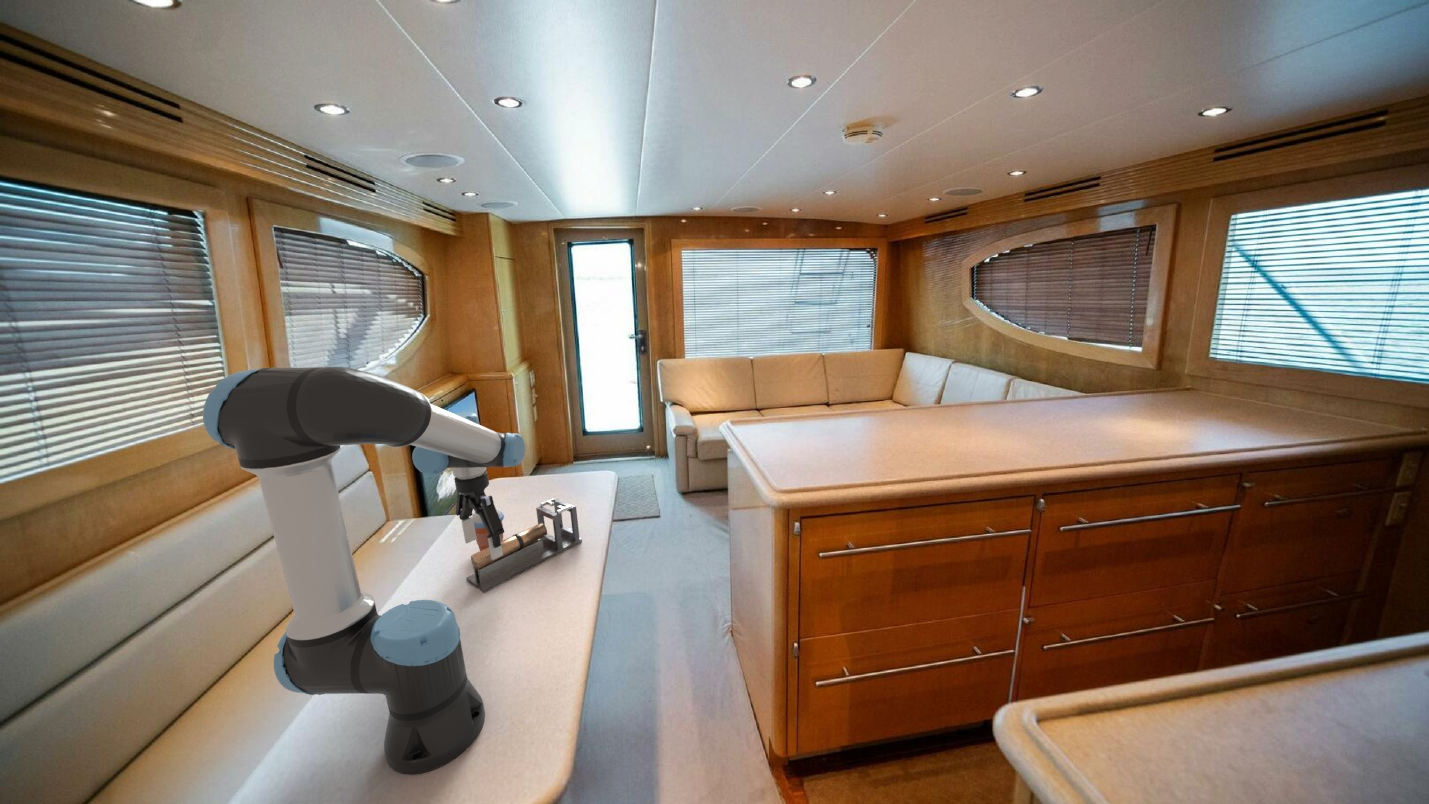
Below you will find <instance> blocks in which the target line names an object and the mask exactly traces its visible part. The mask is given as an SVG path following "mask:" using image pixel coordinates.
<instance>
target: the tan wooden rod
mask: <svg viewBox="0 0 1429 804" xmlns="http://www.w3.org/2000/svg"><path fill="white" fill-rule="evenodd" d="M547 534H548V529H547V527H546V524H545V525H544V524H543V523H539V524H538V523H537V524H535V525H534V526H531V527H529V528H527V529H525V530H522V531H520V532H517V533H515V534H513V535H511V536H510V537H507V538H506V539H504V540H503V541H501V545H502V551H503V556H500V557H498V558H496V559H494V560H492V559H491V553H490V548H489V547H488V548H486V549H484V550H481V551H480V550H479V551H477V552H475V553H473V554H471V556H470V560H471V561H470V562H471V564H472V566H474V567H475V568H476V569H480V568H482V567H484V566H486V565H488V564H490V563H492V562H494V561H496V560H498V559H500V558H502V557H504V556H506V555H508V554H510V553H512V552H514V551H516V550H519V549H521V548H523V547H524V546H526V545H528V544H530V543H532V542H534V541H536V540H540V538H542V537H544V536H546V535H547Z"/></svg>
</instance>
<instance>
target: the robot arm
mask: <svg viewBox="0 0 1429 804" xmlns="http://www.w3.org/2000/svg"><path fill="white" fill-rule="evenodd" d="M214 387H215V388H214V389H213V390H212V391H210V392H209V393H208V395H207V397H206V399H205V402H204V406H203V409H202V410H203V411H202V420H203V426H204V429H205V430H206V433H207V434H208V435H209V437H210V438H211V439H212V440H213V441H214V442H218V443H219V445H221V446H224V447H225V448H229V449H232V450H235V451H236V455H237V459H238V462H239V465H240V469H241V470H243V471H246V472H248V473H251V474H253V475H255V476H256V477H258V481H259V485H260V488H261V492H262V496H263V497H262V498H263V500H264V504H265V508H266V510H267V516H268V518H269V522H270V526H271V530H272V534H273V539H274V543H275V545H276V549H277V552H278V556H279V557H278V558H279V560H280V564H281V568H282V572H283V575H284V578H285V583H286V587H287V591H288V594H289V598H290V601H291V606H292V610H293V613H294V615H293V617H292V618H291V619H290V620H289V621H288V623H287V624H286V626H285V631H284V633H283V634H282V635H281V638H280V639H279V640H278V644H277V645H276V648H278V652H277V653H275V654H274V655H273V671H274V675H275V677H276V679H277V682H278V683H279V684H280V685H281V686H282V687H283V688H284V689H287V691H289V692H293V693H301V694H306V695H309V696H310V695H311V696H315V695H319V696H321V695H333V694H334V695H337V694H338V695H339V694H341V695H342V694H343V695H344V694H348V695H349V694H366V695H367V694H368V695H369V694H370V695H371V694H373V695H375V694H376V695H377V694H379V695H384V696H385V699H386V703H387V708H388V713H389V714H388V720H387V725H386V729H385V730H386V731H385V736H384V741H383V750H384V755H385V758H386V759H385V760H386V762H387V764H388V766H389V767H390V768H391V769H392V770H394V771H395V772H397V773H399V774H405V775H418V774H422V773H423V774H424V773H427V772H431V771H433V770H435V769H438V768H440V767H442V766H444V765H446V764H448V763H449V762H451V761H453V760H454V759H456V758H457V757H458V756H460V755H461V754H462V753H463V752H465V751H466V748H467V749H468V748H469V747H470V746H471V745H472V743H474V741H475V740H476V739H477V737H478V736H479V734H480V732H481V730H482V728H483V727H484V725H485V724H484V723H485V719H486V712H485V705H484V700H483V698H482V696H481V694H480V693H479V692H478V690H477V689H476V688H475V686H474V685H473V683H471V681H470V680H469V678H468V676H467V669H466V664H465V659H464V658H465V657H464V653H463V647H462V641H461V630H460V627H459V624H458V623H457V620H456V616H455V613H454V612H453V610H452V608H450V606H448V605H447V604H446V603H444V602H441V601H437V600H433V599H418V600H413V601H409V603H408V604H404V603H401V604H399V605H396V606H394V607H392V608H390V609H388V610H387V611H385V612H384V613H382V614H381V615H379V613H378V611H377V605H376V603H375V598H374V597H373V595H372V594H371V593H368V592H364V591H361V587H360V583H359V579H358V578H359V577H358V574H357V569H356V565H355V560H354V556H353V551H352V547H351V544H350V543H351V542H350V539H349V535H348V534H349V533H348V531H347V530H348V528H347V525H346V521H345V516H344V512H343V507H342V503H341V499H340V494H339V490H338V485H337V481H336V476H335V472H334V468H333V464H332V461H333V459H334V458H335V456H336V455H337V454H338V453H339V452H340V451H341V449H342V447H341V446H351V445H352V446H353V445H385V446H389V447H393V448H401V447H408V446H413V447H415V448H414V449H413V451H412V454H411V455H412V456H411V457H412V458H411V460H412V461H413V465H414V467H415V468H416V469H417V470H418V471H419V472H421V473H422V474H424V475H429V476H434V475H438V474H440V473H443V472H444V471H446V470H448V469H452V474H453V476H454V478H453V479H454V485H455V490H456V504H455V505H456V506H455V515H456V516H457V517H459V519H460V520H461V526H462V531H463V539H464V542H465V544H469V543H471V542H473V541H476V539H477V538H476V532H475V527H474V521H473V517H472V516H473V514H474V513H476V514H479V516H480V518H481V520H482V522H483V524H484V526H485V528H486V529H487V531H488V533H489V535H488V536H487V538H488V542H489V548H490V553H491V559H492V560H494V559H496V558H498V557H500V556H503V551H502V545H501V539H500V534H502V533H503V534H504V533H505V530H504V525H503V526H502V524H501V521H500V518H499V516H498V513H497V511H496V508H497V507H496V505H495V502H494V498H493V496H492V495H488V496H487V495H486V492H485V491H486V490H485V489H486V488H488V486H489V485H490V480H489V474H488V471H487V468H508V467H509V468H510V467H518V466H520V465H521V464H522V462H523V460H524V459H525V455H526V454H525V453H526V445H525V444H526V443H525V440H524V438H523V436H522V435H521V434H519V433H513V432H512V433H511V432H506V433H502V432H497V431H494V430H492V429H489V428H487V427H486V426H483V425H480V421H479V418H478V415H477V413H474V412H473V411H472V412H471V411H470V412H469V411H466V412H465V411H464V412H463V411H462V412H456V413H453V412H451V411H448V410H445V409H443V408H441V407H439V406H437V405H435V404H432V403H430V400H429V398H428V397H426V395H425V394H423V393H421V392H420V391H418V390H415V389H414V388H411V387H409V386H407V385H405V384H402V383H400V382H396V381H394V380H392V379H389V378H386V377H384V376H380V375H377V374H374V373H371V372H368V371H366V370H365V371H364V370H359V369H356V368H352V367H346V366H345V367H344V366H324V367H323V366H321V367H320V366H318V367H316V366H315V367H262V368H257V369H247V370H241V371H237V372H235V373H234V372H233V373H231V374H229V375H228V376H226V377H224V378H223V379H221V380H220V381H219V382H218V383H216V385H215V386H214ZM495 507H496V508H495ZM473 511H474V513H473ZM455 757H456V758H455Z"/></svg>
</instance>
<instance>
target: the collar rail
mask: <svg viewBox="0 0 1429 804" xmlns="http://www.w3.org/2000/svg"><path fill="white" fill-rule="evenodd" d="M539 505H540V506H538V507H536V508H535V512H536V517H537V518H536V519H537V524H539V523H543V524H544V525H545V526H546V523H545V518H548V519H550V520H552V526H553V533H554V534H553V535H550V534H549V533H547V535H546V536H544V537H542V538H540V539H538V540H536V541H534V542H532V543H530V544H528V545H526V546H524V547H523V548H521V549H519V550H516V551H514V552H512V553H510V554H508V555H506V556H504V557H502V558H500V559H498V560H496V561H494V562H492V563H490V564H488V565H486V566H484V567H482V568H480V569H476V568H475V567H474V566H473V565H472V566H473V567H472V568H473V572H474V573H472V574H471V575H468V576H466V577H465V578H466V582H468V583H469V584H471V585H472V586H473V587H474V588H476V590H477V589H478V590H479V591H480V592H481V593H484V594H485V593H486V592H488V591H490V590H492V589H494V588H496V587H498V586H500V585H501V584H504V583H505V582H508V581H510V580H511V579H513V578H516V577H517V576H519V575H521V574H523V573H525V572H527V571H529V570H531V569H533V568H534V567H536V566H538V565H540V564H542V563H544V562H546V561H548V560H550V559H551V558H553V557H555V556H557V555H560V554H562V553H563V552H565V551H567V550H569V549H571V548H572V547H576V545H579V544H580V543H582V542H583V539H582V538H581V537H580V530H579V522H578V512H577V506H576V505H574V504H572V503H569V502H566V501H565V500H562V499H559V498H556V499H555V497H554V498H550V499H547V500H545V501H543V502H541V503H539ZM544 506H550V507H553V506H554V510H551V509H548V508H546V507H544ZM566 511H567V512H570V513H569V514H570V522H571V528H570V527H568V526H566V525H564V523H563V515H562V513H564V512H566Z"/></svg>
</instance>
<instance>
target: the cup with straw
mask: <svg viewBox="0 0 1429 804" xmlns="http://www.w3.org/2000/svg"><path fill="white" fill-rule="evenodd" d="M495 508H496V511H497V513H498V516H499V518H500V521H501V524H502V526H503V527H504V524H503V520H504V518H505V515H504V513H503V511H501V510H500V509H498V508H497V507H496V506H495ZM471 517H473V521H474V527H475V532H476V538H477V539H476V540H475V542H476V545H477V546H478V548H479V551H481V550H484V549H486V548H488V547H489V542H488V538H487V536H488V535H489V533H488V531H487V529H486V528H485V526H484V524H483V522H482V520H481V518H480V516H479V514H476V513H475V512H474V513H473V514H472V516H471ZM500 539H501V541H503V539H504V533H502V534H500Z"/></svg>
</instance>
